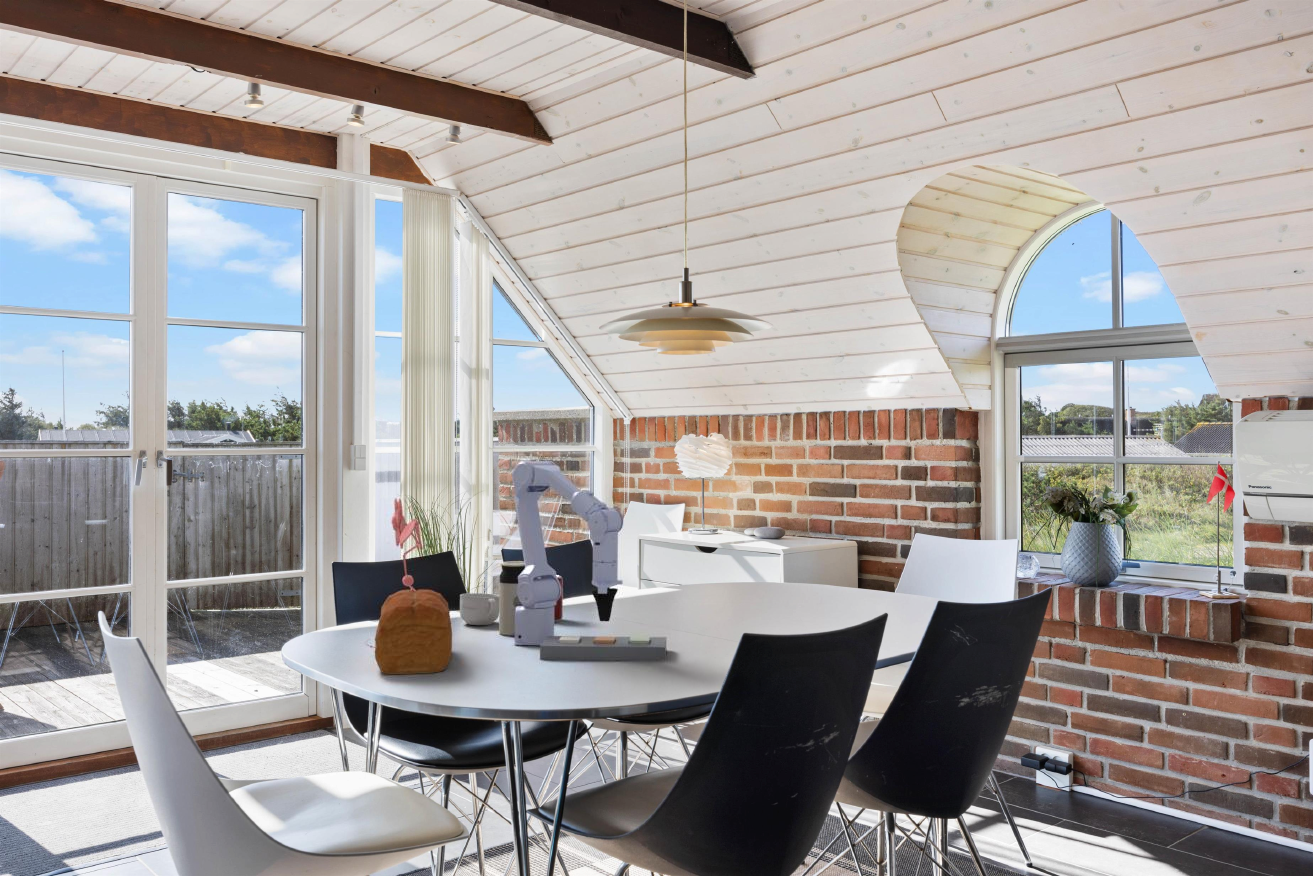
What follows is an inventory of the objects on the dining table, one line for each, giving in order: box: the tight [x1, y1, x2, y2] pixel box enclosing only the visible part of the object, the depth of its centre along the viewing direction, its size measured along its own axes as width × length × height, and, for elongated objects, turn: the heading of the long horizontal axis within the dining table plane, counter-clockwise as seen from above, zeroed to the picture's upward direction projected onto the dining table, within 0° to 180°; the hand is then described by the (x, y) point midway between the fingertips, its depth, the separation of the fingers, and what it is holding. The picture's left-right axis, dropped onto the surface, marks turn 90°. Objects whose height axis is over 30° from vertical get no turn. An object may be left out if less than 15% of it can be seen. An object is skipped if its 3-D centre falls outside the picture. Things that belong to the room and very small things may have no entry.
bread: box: [374, 588, 453, 675], centre depth 222 cm, size 16×27×16 cm, turn 13°
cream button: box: [559, 635, 582, 643], centre depth 230 cm, size 4×4×3 cm
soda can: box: [535, 574, 564, 623], centre depth 276 cm, size 7×7×12 cm
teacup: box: [459, 592, 499, 626], centre depth 268 cm, size 14×11×8 cm
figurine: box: [363, 497, 423, 649], centre depth 245 cm, size 15×26×35 cm, turn 19°
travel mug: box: [498, 560, 525, 637], centre depth 256 cm, size 8×8×18 cm
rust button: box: [594, 636, 616, 644], centre depth 230 cm, size 4×4×3 cm
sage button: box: [629, 636, 651, 644], centre depth 230 cm, size 4×4×3 cm
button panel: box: [539, 635, 667, 662], centre depth 230 cm, size 28×12×3 cm, turn 88°
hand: (604, 620), depth 230 cm, fingers closed
